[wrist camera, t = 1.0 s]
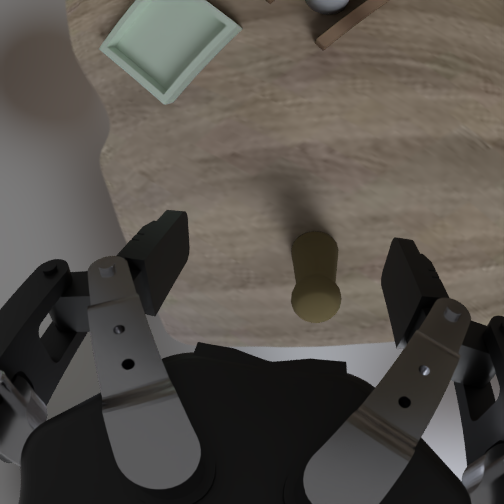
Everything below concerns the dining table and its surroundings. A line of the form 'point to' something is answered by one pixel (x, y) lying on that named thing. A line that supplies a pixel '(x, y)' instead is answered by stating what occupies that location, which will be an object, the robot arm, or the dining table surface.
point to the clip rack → (347, 22)
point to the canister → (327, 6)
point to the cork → (315, 277)
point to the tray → (168, 43)
